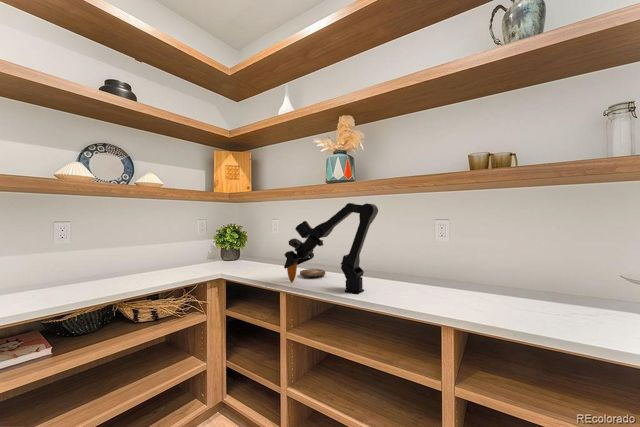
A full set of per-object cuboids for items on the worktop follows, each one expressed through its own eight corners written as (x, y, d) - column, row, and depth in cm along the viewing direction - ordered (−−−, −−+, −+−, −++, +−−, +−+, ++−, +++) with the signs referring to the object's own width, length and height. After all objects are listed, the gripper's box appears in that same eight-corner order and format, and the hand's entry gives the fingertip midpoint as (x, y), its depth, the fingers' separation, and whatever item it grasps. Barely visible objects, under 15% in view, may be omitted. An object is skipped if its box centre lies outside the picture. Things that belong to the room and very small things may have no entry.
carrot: (297, 281, 135) (297, 251, 135) (296, 283, 130) (296, 253, 130) (287, 281, 135) (287, 251, 135) (286, 283, 130) (286, 253, 130)
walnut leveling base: (330, 275, 148) (330, 270, 148) (315, 280, 137) (315, 275, 137) (310, 272, 156) (310, 267, 156) (294, 276, 145) (294, 271, 145)
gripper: (308, 232, 139) (291, 251, 144) (287, 234, 123) (269, 256, 128) (322, 248, 135) (303, 267, 140) (302, 252, 119) (282, 274, 124)
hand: (290, 266), depth 133 cm, fingers open, 9 cm apart
